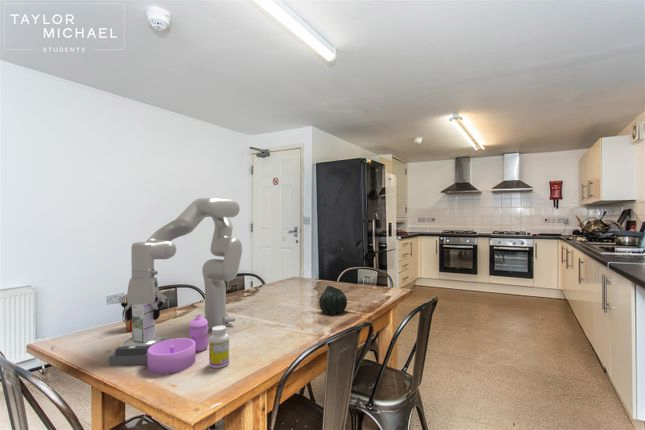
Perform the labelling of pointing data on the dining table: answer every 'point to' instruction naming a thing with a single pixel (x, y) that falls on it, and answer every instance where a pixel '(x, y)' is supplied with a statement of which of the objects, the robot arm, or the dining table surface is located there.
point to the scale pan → (149, 343)
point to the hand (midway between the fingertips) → (143, 319)
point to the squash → (332, 300)
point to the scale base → (129, 359)
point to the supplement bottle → (219, 347)
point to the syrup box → (142, 322)
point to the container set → (178, 350)
